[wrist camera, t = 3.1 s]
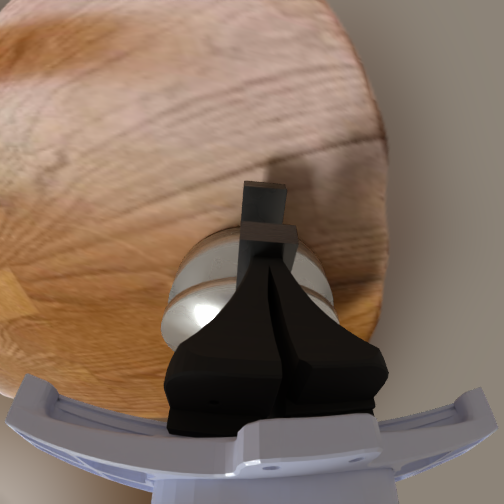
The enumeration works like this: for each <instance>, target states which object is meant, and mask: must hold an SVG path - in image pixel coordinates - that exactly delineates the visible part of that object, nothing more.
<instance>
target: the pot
mask: <svg viewBox="0 0 504 504" xmlns="http://www.w3.org/2000/svg"><path fill="white" fill-rule="evenodd" d="M286 195H287V188H286V185H285V184H276V183H266V182H255V181H244V189H243V202H242V214H241V221H246V222H259V223H271V224H282V222H283V215H284V209H285V202H286ZM239 238H240V227H238V228H232V229H228V230H223V231H221V232H218V233H215V234H213V235H211V236H209V237H207V238H205V239H203V240H202V241H201V242H199V243H198V244H196V245H195V246H194V247H193V248H192V249H191V250H190V251H189V252H188V253H187V255H186V256H185V257H184V259H183V260H182V262H181V264H180V266H179V269H178V271H177V274H176V277H175V279H174V282H173V285H172V288H171V291H170V294H169V301H168V303H169V302H170V301H171V300H172V299H173V298H174V297H175V296H176V295H177V294H179V293H180V292H182V291H183V290H185V289H187V288H189V287H191V286H194V285H197V284H199V283H202V282H206V281H210V280H214V279H220V278H227V277H237V266H238V252H239ZM298 243H299V245H298V249H297V252H296V256H295V260H294V264H293V267H292V271H291V274H292V275H293V277H294V278H295V279H296V281H297V282H298V283H299V284H300V285H303V286H305V287H308V288H310V289H312V290H314V291H316V292H318V293H319V294H321V295H322V296H324V297H325V298H326V299H327V300H328V301H329V302H330V303H331V304H332V305H333V296H332V292H331V289H330V286H329V283H328V280H327V277H326V274H325V272H324V269H323V267H322V265H321V263H320V261H319V259H318V258H317V256H316V255H315V254H314V252H313V251H312V250H311V249H310V248H309V247H308V246H306V245H305V244H304V243H302V242H301V241H300V240H298ZM333 306H334V305H333Z"/></svg>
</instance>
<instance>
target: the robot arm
mask: <svg viewBox="0 0 504 504" xmlns="http://www.w3.org/2000/svg"><path fill="white" fill-rule="evenodd" d="M388 374H389V372H388V369H387V367H386V363H385V360H384V358H383V356H382V354H381V352H380V350H379V348H377V347H375V346H373V345H371V344H369V343H368V342H366V341H364V340H362V339H360V338H358V337H357V336H355V335H354V334H352V333H351V332H349V331H348V330H346V329H345V328H343V327H342V326H341V325H339V324H338V323H337V322H335V321H334V320H333V319H332V318H330V317H329V316H328V315H327V314H326V313H325V312H324V311H323V310H321V309H320V308H319V307H318V306H317V305H316V304H315V303H314V302H313V301H312V300H311V298H310V297H309V296H308V295H307V294H306V292H305V291H304V290H303V289H302V287H301V286H300V285H299V283H298V282H297V281H296V279H295V278H294V277H293V275H292V274H291V272H290V271H289V269H288V268H287V266H286V264H285V263H284V261H283V260H282V259H281V258H272V257H258V256H252V257H251V258H250V263H249V266H248V269H247V271H246V273H245V275H244V277H243V279H242V281H241V283H240V285H239V286H238V288H237V290H236V291H235V293H234V294H233V296H232V297H231V298H230V300H229V301H228V302H227V304H226V305H225V306H224V307H223V308H222V309H221V310H220V312H219V313H218V314H217V315H216V316H215V317H214V318H213V319H212V320H211V321H210V322H208V323H207V324H206V325H205V326H204V327H203V328H201V329H200V330H199V331H198V332H196V333H195V334H194V335H192V336H191V337H189V338H188V339H186V340H185V341H183V342H182V343H180V344H179V346H178V347H177V349H176V351H175V353H174V355H173V357H172V359H171V361H170V363H169V366H168V369H167V372H166V376H165V381H164V391H165V394H166V397H167V400H168V403H169V406H170V410H169V416H168V421H167V422H161V421H156V420H150V419H145V418H141V417H136V416H131V415H127V414H123V413H119V412H115V411H111V410H107V409H104V408H100V407H97V406H93V405H90V404H87V403H84V402H80V401H77V400H74V399H71V398H69V397H66V396H63V395H60V394H59V393H58V391H57V390H56V388H55V387H54V386H53V385H52V384H50V383H49V382H47V381H45V380H43V379H40V378H38V377H35V376H33V375H31V374H26V375H25V377H24V379H23V381H22V383H21V385H20V387H19V389H18V392H17V394H16V396H15V398H14V400H13V403H12V405H11V407H10V410H9V412H8V414H7V417H6V420H5V423H6V424H7V425H8V426H9V427H11V428H12V429H13V430H14V431H15V432H17V433H18V434H19V435H20V436H22V437H23V438H24V439H25V440H27V441H28V442H29V443H31V444H32V445H33V446H35V447H36V448H38V449H40V450H42V451H44V452H46V453H48V454H50V455H52V456H54V457H56V458H58V459H60V460H62V461H65V462H67V463H69V464H71V465H74V466H76V467H78V468H81V469H83V470H85V471H88V472H91V473H93V474H95V475H98V476H101V477H104V478H106V479H109V480H112V481H115V482H118V483H121V484H124V485H127V486H131V487H134V488H138V489H142V490H145V491H149V492H153V495H152V502H151V504H399V501H398V495H397V489H396V484H395V482H397V481H399V480H403V479H405V478H408V477H411V476H414V475H416V474H419V473H421V472H424V471H426V470H428V469H431V468H433V467H436V466H438V465H440V464H442V463H445V462H447V461H449V460H451V459H453V458H456V457H458V456H460V455H462V454H464V453H466V452H467V451H469V450H470V449H472V448H473V447H475V446H476V445H477V444H479V443H480V442H482V441H483V440H484V439H486V438H487V437H488V436H490V435H491V434H492V433H494V432H495V431H496V430H497V429H498V426H497V423H496V420H495V418H494V415H493V413H492V411H491V408H490V406H489V404H488V401H487V399H486V397H485V394H484V392H483V390H482V388H481V387H479V388H476V389H473V390H470V391H467V392H465V393H464V394H462V395H461V396H460V397H458V398H457V399H456V401H455V402H454V403H452V404H450V405H446V406H443V407H439V408H436V409H433V410H429V411H425V412H421V413H417V414H413V415H409V416H405V417H400V418H395V419H390V420H385V421H380V422H377V418H375V417H374V413H373V409H374V408H375V401H374V396H375V395H376V394H377V393H378V391H379V390H380V389H381V388H382V386H383V385H384V384H385V382H386V380H387V378H388Z"/></svg>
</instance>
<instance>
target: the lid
mask: <svg viewBox="0 0 504 504" xmlns="http://www.w3.org/2000/svg"><path fill="white" fill-rule="evenodd" d="M298 245H299V243H298V236H297V230H296V226H294V225H283V224H271V223H259V222H246V221H241V226H240V238H239V252H238V266H237V277H227V278H220V279H214V280H210V281H206V282H202V283H199V284H197V285H194V286H191V287H189V288H187V289H185V290H183V291H182V292H180V293H179V294H177V295H176V296H175V297H174V298H173V299H172V300H171V301H170V302H169V303H168V305H167V307H166V308H165V312H164V315H163V319H162V323H161V332H162V336H163V338H164V340H165V342H166V343H167V344H168V346H169V347H170V348H171V349H172V350H173V351H174V352H175V351H176V349H177V347H178V346H179V344H180V343H182V342H183V341H185V340H186V339H188V338H189V337H191V336H192V335H194V334H195V333H196V332H198V331H199V330H200V329H201V328H203V327H204V326H205V325H206V324H207V323H208V322H210V321H211V320H212V319H213V318H214V317H215V316H216V315H217V314H218V313H219V312H220V310H221V309H222V308H223V307H224V306H225V305H226V304H227V302H228V301H229V300H230V298H231V297H232V296H233V294H234V293H235V291H236V290H237V288H238V286H239V285H240V283H241V281H242V279H243V277H244V275H245V273H246V271H247V269H248V266H249V263H250V258H251V257H252V256H258V257H272V258H281V259H282V260H283V261H284V263H285V264H286V266H287V268H288V269H289V271H290V272H291V271H292V267H293V264H294V260H295V256H296V252H297V249H298ZM299 285H300V284H299ZM300 286H301V287H302V289H303V290H304V291H305V292H306V294H307V295H308V296H309V297H310V298H311V300H312V301H313V302H314V303H315V304H316V305H317V306H318V307H319V308H320V309H321V310H323V311H324V312H325V313H326V314H327V315H328V316H329V317H330V318H332V319H333V320H334V321H335V322H337V323H338V324H339V319H338V315H337V312H336V310H335V308H334V306H333V305H332V304H331V303H330V302H329V301H328V300H327V299H326V298H325V297H324V296H322V295H321V294H319V293H318V292H316V291H314V290H312V289H310V288H308V287H305V286H303V285H300Z"/></svg>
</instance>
